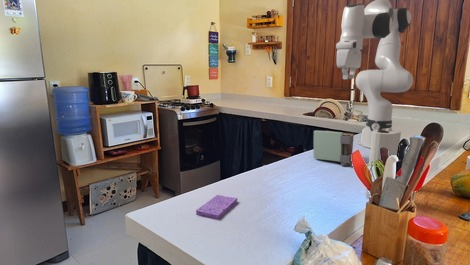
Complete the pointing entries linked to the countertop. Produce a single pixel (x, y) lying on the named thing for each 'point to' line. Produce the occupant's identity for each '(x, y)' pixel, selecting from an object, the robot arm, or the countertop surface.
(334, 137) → the cabinet door
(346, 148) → the walnut cabinet
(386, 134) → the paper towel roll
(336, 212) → the countertop surface
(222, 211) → the sponges
